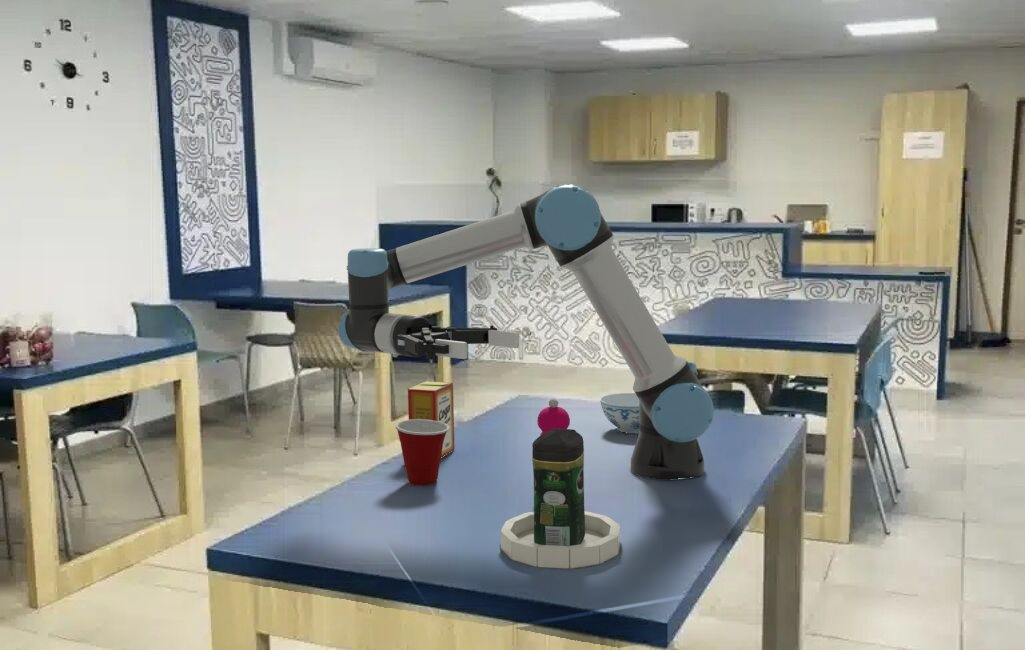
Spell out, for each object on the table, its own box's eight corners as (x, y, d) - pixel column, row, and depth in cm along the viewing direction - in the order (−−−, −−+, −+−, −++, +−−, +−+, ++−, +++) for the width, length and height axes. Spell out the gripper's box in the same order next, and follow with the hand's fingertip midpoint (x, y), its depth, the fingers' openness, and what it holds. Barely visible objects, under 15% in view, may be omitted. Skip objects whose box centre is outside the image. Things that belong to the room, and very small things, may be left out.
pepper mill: (578, 499, 186) (577, 395, 183) (567, 511, 179) (566, 403, 176) (541, 496, 188) (540, 393, 185) (530, 507, 181) (528, 401, 179)
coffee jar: (543, 531, 166) (542, 423, 163) (589, 535, 163) (588, 426, 161) (527, 551, 156) (526, 437, 154) (576, 555, 154) (575, 440, 152)
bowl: (589, 520, 172) (589, 504, 172) (639, 557, 155) (640, 539, 154) (487, 535, 166) (486, 517, 165) (527, 575, 148) (527, 556, 148)
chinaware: (666, 437, 231) (666, 405, 230) (602, 438, 231) (602, 406, 230) (658, 422, 246) (658, 392, 245) (598, 423, 246) (598, 393, 245)
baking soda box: (436, 461, 214) (434, 389, 212) (409, 458, 216) (407, 387, 214) (454, 450, 223) (452, 381, 220) (428, 448, 225) (426, 379, 223)
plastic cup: (442, 491, 192) (441, 431, 191) (389, 488, 194) (387, 429, 193) (456, 475, 203) (455, 418, 201) (406, 473, 205) (404, 417, 203)
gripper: (452, 346, 191) (538, 357, 177) (354, 365, 172) (442, 378, 158) (451, 308, 190) (537, 315, 176) (352, 322, 171) (440, 332, 157)
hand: (492, 345), depth 167 cm, fingers open, 13 cm apart
